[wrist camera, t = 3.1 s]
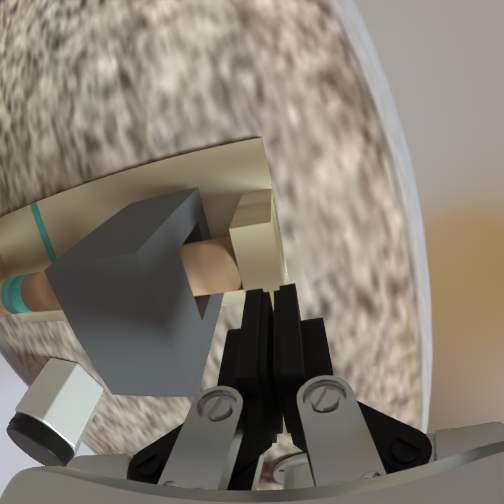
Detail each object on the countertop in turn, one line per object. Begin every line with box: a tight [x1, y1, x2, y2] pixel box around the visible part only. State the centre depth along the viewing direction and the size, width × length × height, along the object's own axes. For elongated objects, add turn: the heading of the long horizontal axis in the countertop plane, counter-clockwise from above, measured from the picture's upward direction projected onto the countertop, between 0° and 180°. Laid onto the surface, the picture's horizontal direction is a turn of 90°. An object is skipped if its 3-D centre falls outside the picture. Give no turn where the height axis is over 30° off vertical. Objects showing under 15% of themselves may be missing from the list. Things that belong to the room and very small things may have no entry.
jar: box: [7, 358, 103, 467], centre depth 27 cm, size 9×8×12 cm
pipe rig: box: [0, 137, 289, 322], centre depth 21 cm, size 12×30×8 cm, turn 101°
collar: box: [44, 187, 224, 397], centre depth 17 cm, size 8×5×10 cm, turn 11°
